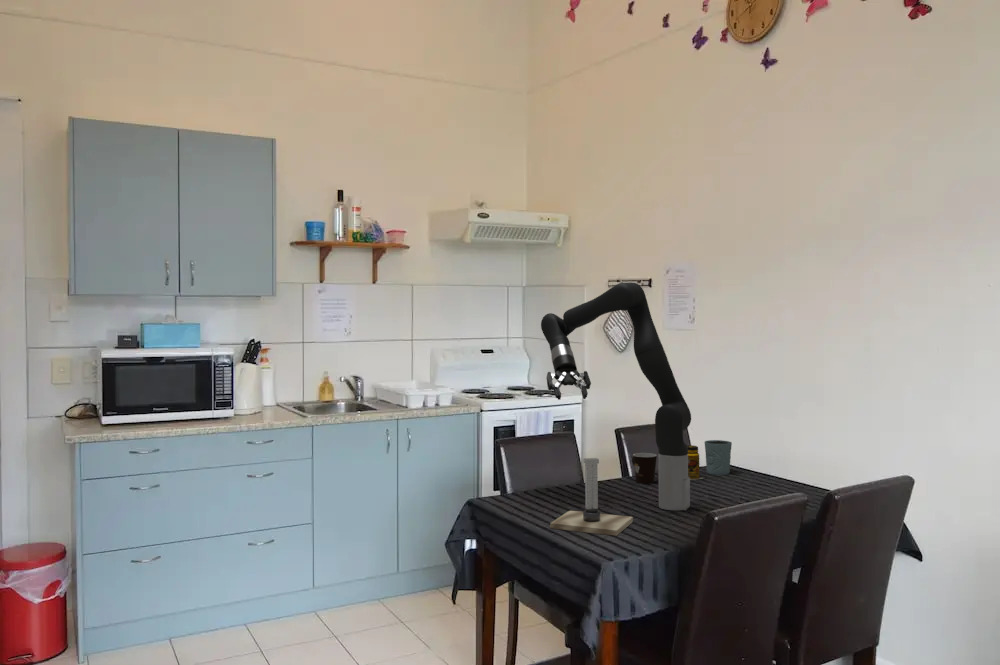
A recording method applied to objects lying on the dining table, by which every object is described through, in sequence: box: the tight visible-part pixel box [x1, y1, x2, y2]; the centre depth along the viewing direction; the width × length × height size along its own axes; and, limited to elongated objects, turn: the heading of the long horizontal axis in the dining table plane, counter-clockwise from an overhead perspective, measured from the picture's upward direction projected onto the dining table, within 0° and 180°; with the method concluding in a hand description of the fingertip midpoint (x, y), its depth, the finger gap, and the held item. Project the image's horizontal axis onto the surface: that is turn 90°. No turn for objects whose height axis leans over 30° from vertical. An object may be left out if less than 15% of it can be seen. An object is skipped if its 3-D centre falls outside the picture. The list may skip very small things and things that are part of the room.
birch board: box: [549, 510, 634, 536], centre depth 235 cm, size 20×16×2 cm
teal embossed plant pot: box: [704, 439, 732, 476], centre depth 308 cm, size 10×10×12 cm
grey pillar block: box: [582, 457, 601, 522], centre depth 234 cm, size 5×5×18 cm
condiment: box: [687, 444, 704, 481], centre depth 300 cm, size 7×8×12 cm
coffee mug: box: [631, 452, 658, 485], centre depth 294 cm, size 12×9×10 cm
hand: (572, 397), depth 261 cm, fingers open, 8 cm apart
